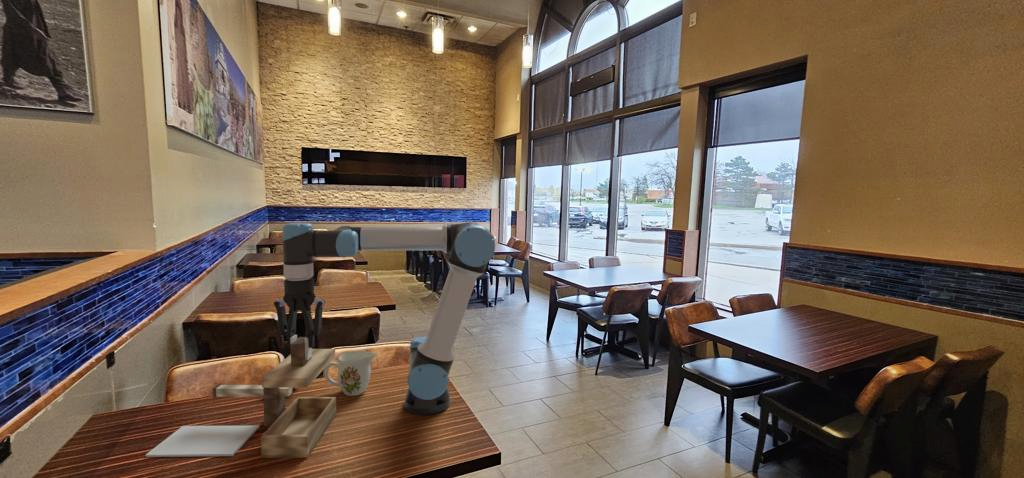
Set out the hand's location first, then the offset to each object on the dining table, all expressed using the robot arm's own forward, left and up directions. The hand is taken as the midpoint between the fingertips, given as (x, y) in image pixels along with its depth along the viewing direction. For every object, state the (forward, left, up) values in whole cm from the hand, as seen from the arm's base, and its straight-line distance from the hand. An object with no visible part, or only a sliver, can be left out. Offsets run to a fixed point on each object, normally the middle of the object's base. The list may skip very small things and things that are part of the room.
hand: (301, 358), depth 122 cm
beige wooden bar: (+17, -7, -15) cm, 24 cm away
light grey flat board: (+25, +3, -23) cm, 34 cm away
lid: (0, 0, -4) cm, 4 cm away
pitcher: (-6, -27, -23) cm, 36 cm away
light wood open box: (+4, 0, -23) cm, 24 cm away
